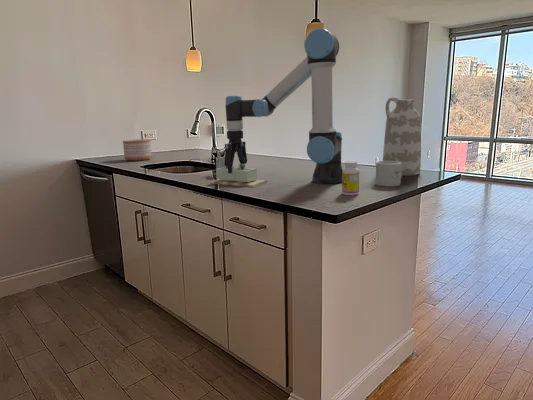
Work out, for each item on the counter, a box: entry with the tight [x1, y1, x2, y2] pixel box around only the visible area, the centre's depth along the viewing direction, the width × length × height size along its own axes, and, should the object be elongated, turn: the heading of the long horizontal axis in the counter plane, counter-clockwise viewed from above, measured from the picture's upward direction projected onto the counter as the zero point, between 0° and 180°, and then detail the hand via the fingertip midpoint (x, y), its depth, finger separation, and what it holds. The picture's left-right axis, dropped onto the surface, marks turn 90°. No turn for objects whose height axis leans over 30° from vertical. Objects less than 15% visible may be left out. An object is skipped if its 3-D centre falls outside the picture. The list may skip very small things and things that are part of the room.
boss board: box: [210, 163, 268, 188], centre depth 186 cm, size 24×12×9 cm, turn 59°
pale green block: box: [215, 166, 258, 182], centre depth 187 cm, size 18×8×5 cm, turn 59°
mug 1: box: [215, 152, 231, 170], centre depth 210 cm, size 8×12×12 cm, turn 44°
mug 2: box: [374, 160, 403, 188], centre depth 173 cm, size 14×11×10 cm
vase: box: [382, 96, 422, 177], centre depth 198 cm, size 20×19×38 cm
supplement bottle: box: [341, 160, 360, 196], centre depth 155 cm, size 7×7×13 cm
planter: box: [122, 138, 152, 162], centre depth 292 cm, size 19×19×15 cm
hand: (236, 178), depth 187 cm, fingers closed on pale green block, 8 cm apart
